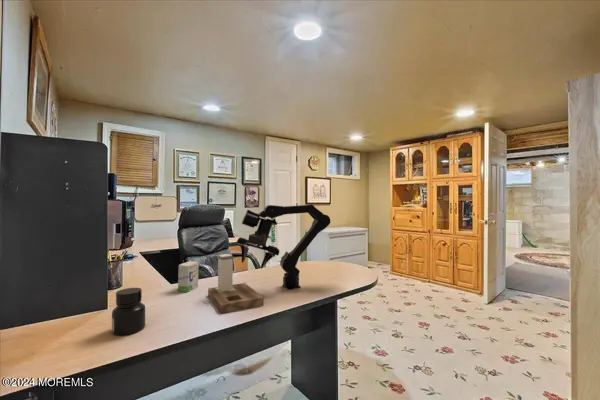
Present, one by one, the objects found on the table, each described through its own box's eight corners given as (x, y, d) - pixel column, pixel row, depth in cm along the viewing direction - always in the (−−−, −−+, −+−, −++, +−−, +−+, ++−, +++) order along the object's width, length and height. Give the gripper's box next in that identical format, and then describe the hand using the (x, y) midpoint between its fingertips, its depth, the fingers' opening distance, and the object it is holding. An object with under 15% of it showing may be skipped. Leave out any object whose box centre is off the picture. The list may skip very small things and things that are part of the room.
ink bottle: (126, 322, 93) (126, 285, 93) (152, 323, 92) (152, 286, 92) (103, 336, 83) (103, 295, 83) (131, 337, 82) (131, 296, 82)
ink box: (188, 286, 132) (188, 260, 132) (198, 286, 131) (198, 261, 131) (177, 291, 124) (177, 265, 124) (187, 292, 123) (187, 265, 123)
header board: (244, 289, 127) (244, 282, 127) (263, 305, 108) (263, 297, 108) (208, 295, 119) (208, 287, 119) (221, 313, 100) (221, 304, 100)
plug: (228, 286, 121) (228, 253, 121) (232, 289, 117) (232, 255, 117) (217, 288, 118) (217, 254, 118) (221, 291, 115) (221, 256, 115)
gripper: (238, 221, 122) (224, 256, 117) (277, 231, 117) (265, 268, 112) (247, 228, 132) (235, 260, 128) (284, 238, 127) (273, 272, 122)
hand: (251, 265), depth 122 cm, fingers open, 9 cm apart
